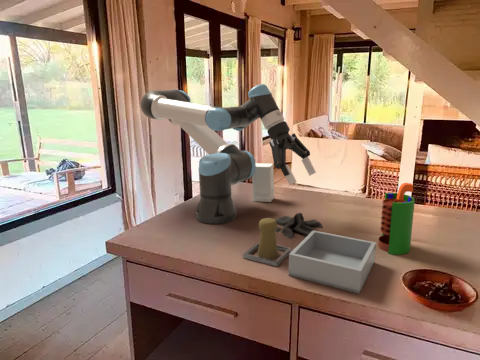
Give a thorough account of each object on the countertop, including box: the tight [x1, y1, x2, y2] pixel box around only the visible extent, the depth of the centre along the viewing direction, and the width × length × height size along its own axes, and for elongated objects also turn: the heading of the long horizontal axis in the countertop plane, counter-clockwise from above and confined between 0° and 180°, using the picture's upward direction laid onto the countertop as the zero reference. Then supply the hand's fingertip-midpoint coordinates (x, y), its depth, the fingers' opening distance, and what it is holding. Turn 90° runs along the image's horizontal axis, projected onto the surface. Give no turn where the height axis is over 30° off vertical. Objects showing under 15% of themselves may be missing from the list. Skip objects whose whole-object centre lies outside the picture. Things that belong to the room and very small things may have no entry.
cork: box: [256, 217, 279, 260], centre depth 105 cm, size 6×6×11 cm
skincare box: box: [251, 162, 275, 203], centre depth 155 cm, size 8×7×16 cm
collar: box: [242, 241, 293, 267], centre depth 106 cm, size 11×11×1 cm
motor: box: [377, 182, 416, 256], centre depth 108 cm, size 10×9×20 cm
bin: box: [288, 230, 377, 295], centre depth 97 cm, size 18×18×6 cm
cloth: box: [274, 212, 323, 240], centre depth 124 cm, size 22×19×6 cm
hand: (303, 178), depth 127 cm, fingers open, 13 cm apart
